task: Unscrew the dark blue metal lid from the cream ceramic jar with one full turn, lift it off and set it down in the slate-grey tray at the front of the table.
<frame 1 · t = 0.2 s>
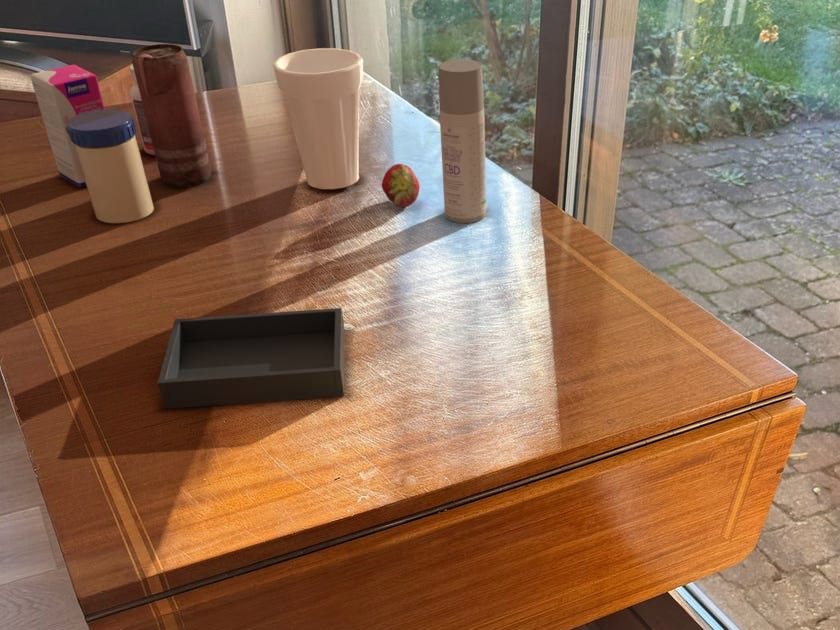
fruit: (402, 206, 113), on the table
can: (186, 180, 120), on the table
container: (465, 216, 110), on the table
jar: (125, 211, 113), on the table
supplement box: (92, 177, 122), on the table
pill bottle: (166, 151, 128), on the table
lid: (100, 123, 107), point 9 cm above the table, screwed on, not yet turned
cup: (333, 184, 118), on the table
tray: (259, 369, 87), on the table
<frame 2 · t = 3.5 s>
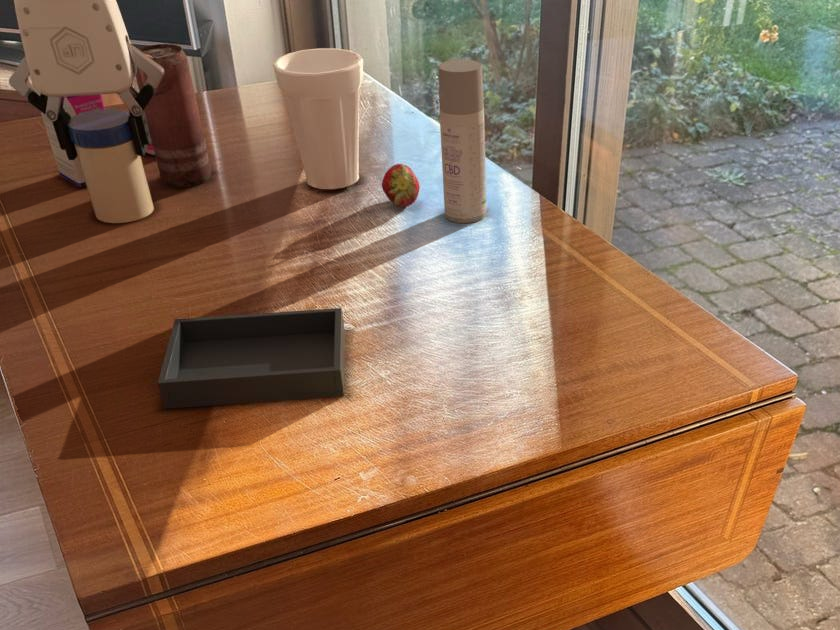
hand: (108, 152, 109), 7 cm above the table, tool pointing down, fingers closed on lid, 6 cm apart
lid: (100, 123, 107), point 9 cm above the table, screwed on, not yet turned, touching gripper
everything else where it was.
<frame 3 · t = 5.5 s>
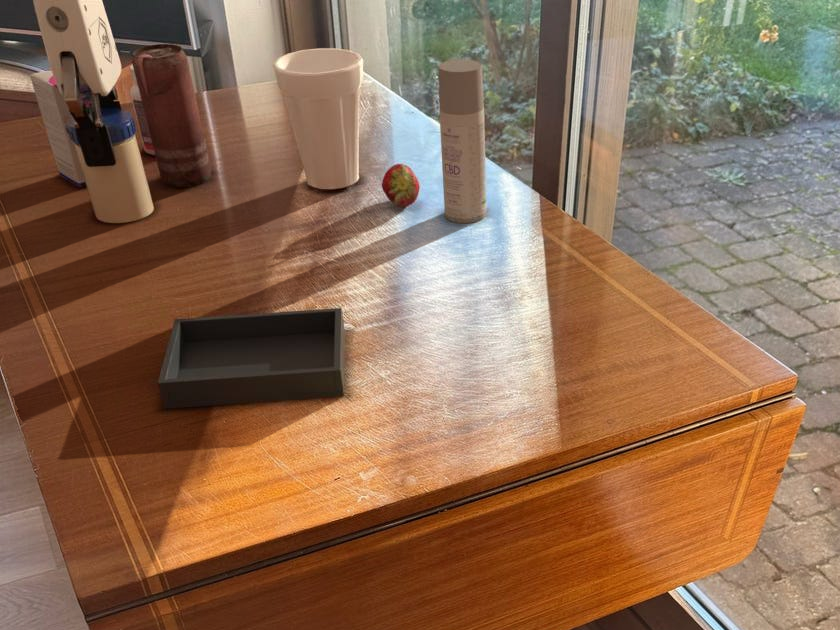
hand: (108, 151, 109), 7 cm above the table, tool pointing down, fingers closed on lid, 6 cm apart
lid: (100, 122, 106), point 10 cm above the table, turned 89° so far, risen 0.1 cm, still on its thread, touching gripper
everything else where it was.
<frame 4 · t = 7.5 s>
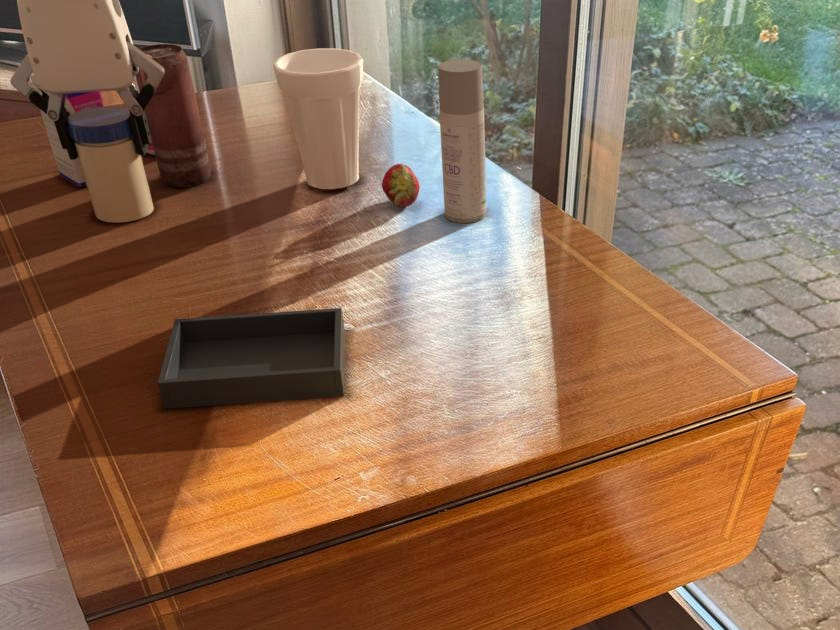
hand: (109, 151, 109), 7 cm above the table, tool pointing down, fingers closed on lid, 6 cm apart
jar: (124, 211, 113), on the table, touching gripper
lid: (100, 120, 106), point 10 cm above the table, turned 179° so far, risen 0.2 cm, still on its thread, touching gripper
everything else where it was.
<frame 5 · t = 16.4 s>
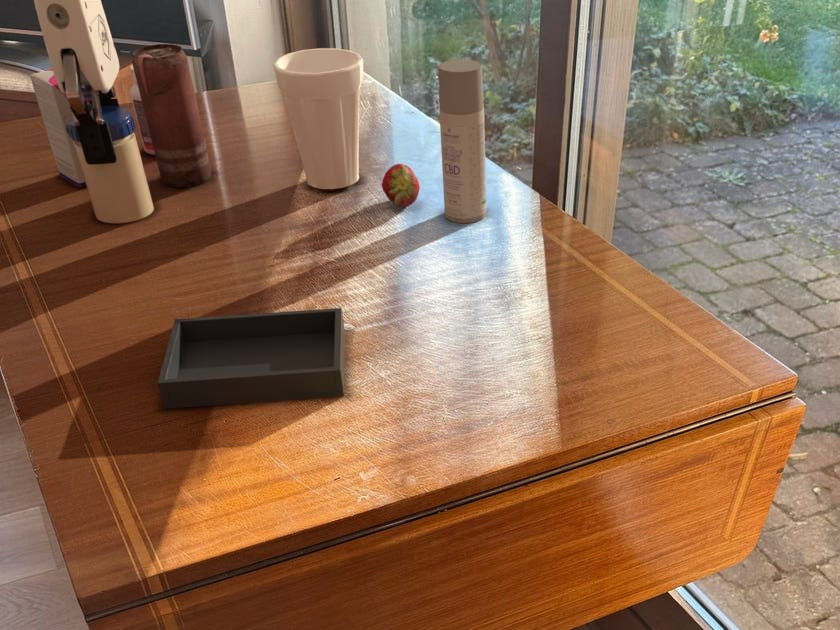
hand: (107, 149, 108), 7 cm above the table, tool pointing down, fingers closed on lid, 6 cm apart
jar: (124, 211, 113), on the table
lid: (99, 119, 106), point 10 cm above the table, turned 270° so far, risen 0.4 cm, still on its thread, touching gripper
everything else where it was.
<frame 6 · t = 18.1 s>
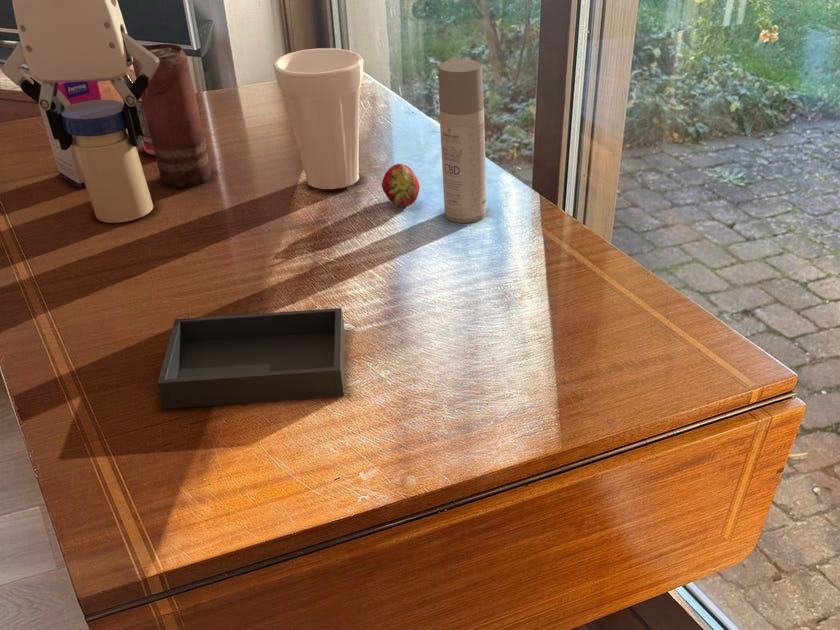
hand: (102, 143, 108), 8 cm above the table, tool pointing down, fingers closed on lid, 6 cm apart
jar: (124, 211, 113), on the table, touching gripper
lid: (94, 113, 106), point 11 cm above the table, off its thread, touching gripper
everything else where it was.
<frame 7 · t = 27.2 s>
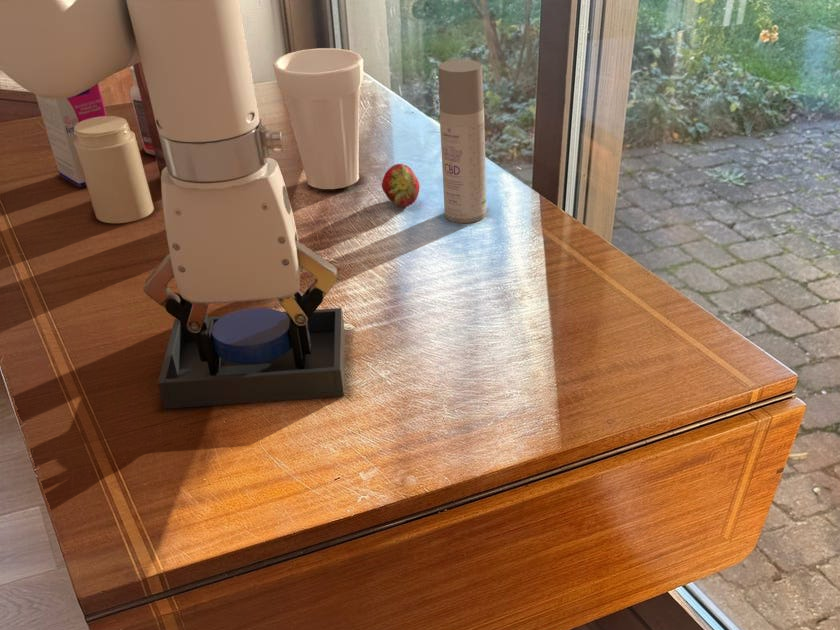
hand: (258, 362, 87), 1 cm above the table, tool pointing down, fingers closed on lid, 6 cm apart
jar: (125, 211, 113), on the table
lid: (252, 330, 85), point 4 cm above the table, off its thread, touching gripper
everything else where it was.
when the fingers open (2 cm above the table, at t = 36.6 s): lid drops 3 cm, resting on tray.
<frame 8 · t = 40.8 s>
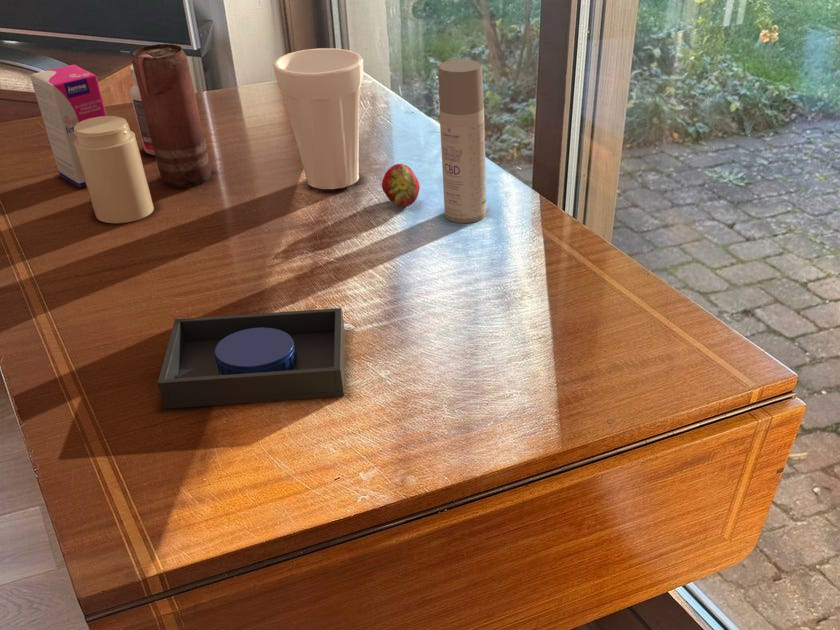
lid: (255, 350, 86), point 2 cm above the table, off its thread, touching tray
everything else where it was.
at the end: lid inside the target area in the tray (0.1 cm from its centre), point 1.8 cm above the tray's base; lid point 1.8 cm above the table; the gripper is holding nothing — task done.
